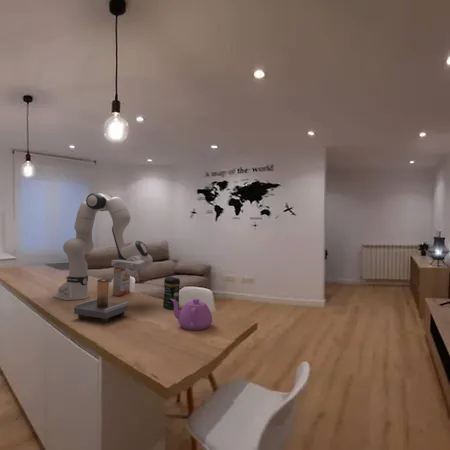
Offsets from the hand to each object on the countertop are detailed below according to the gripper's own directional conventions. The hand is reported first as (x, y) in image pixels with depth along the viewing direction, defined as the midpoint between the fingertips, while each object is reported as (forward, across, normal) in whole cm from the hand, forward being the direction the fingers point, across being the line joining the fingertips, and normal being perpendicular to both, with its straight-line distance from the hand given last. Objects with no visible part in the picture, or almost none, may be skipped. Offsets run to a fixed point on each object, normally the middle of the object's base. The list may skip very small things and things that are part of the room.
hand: (119, 265), depth 189 cm
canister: (+13, +1, +20) cm, 24 cm away
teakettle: (+5, +49, +25) cm, 55 cm away
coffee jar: (-22, +23, +26) cm, 40 cm away
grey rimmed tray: (+13, +1, +26) cm, 29 cm away
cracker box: (-38, -25, +27) cm, 53 cm away
